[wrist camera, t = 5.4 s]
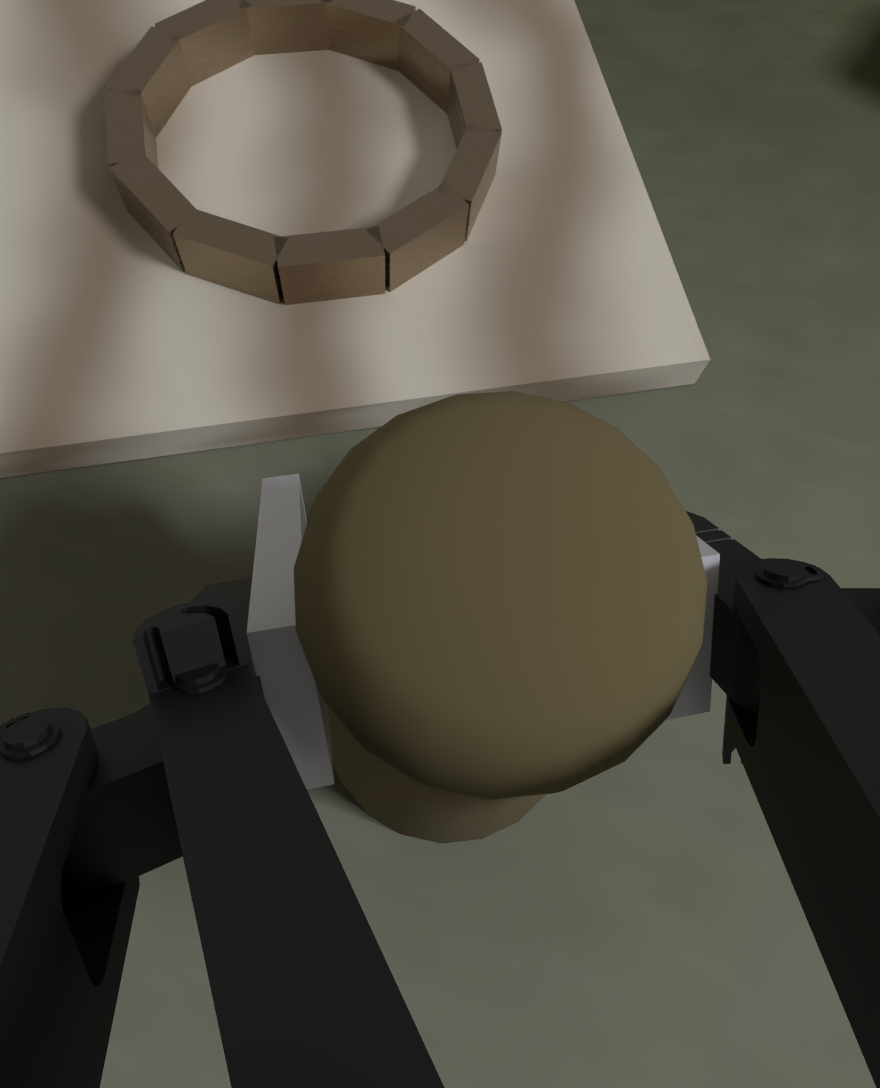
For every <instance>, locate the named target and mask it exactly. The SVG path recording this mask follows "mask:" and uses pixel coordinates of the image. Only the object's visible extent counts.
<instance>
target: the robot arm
mask: <svg viewBox="0 0 880 1088" xmlns="http://www.w3.org/2000/svg"><path fill="white" fill-rule="evenodd" d="M686 513H687V514H688V516H689V518H690V519H691V521H692V523H693V525H694V529H695V533H696V537H697V541H698V545H699V550H700V554H701V558H702V562H703V566H704V570H705V574H706V578H707V594H706V606H705V618H704V630H703V642H702V645H701V647H700V650H699V652H698V654H697V657H696V659H695V661H694V663H693V665H692V668H691V670H690V672H689V674H688V676H687V679H686V681H685V683H684V685H683V688H682V690H681V692H680V694H679V696H678V699H677V701H676V703H675V705H674V707H673V710H672V712H671V714H670V716H669V717H668V718H667V719H666V720H668V719H673V718H678V717H683V716H688V715H694V714H699V713H704V712H709V711H710V701H711V686H712V679H713V680H714V681H715V682H716V683H717V684H718V685H719V686H720V688H721V689H722V690H723V691H724V692H725V693H726V694H727V698H726V711H725V724H724V738H723V751H722V756H723V764H731V752H732V751H733V750H734V749H735V748H736V749H737V751H738V754H739V756H740V758H741V763H743V766H744V768H745V771H746V773H747V775H748V778H749V780H750V783H751V785H752V788H753V790H754V792H755V795H756V797H757V800H758V802H759V804H760V807H761V809H762V812H763V814H764V817H765V819H766V821H767V824H768V826H769V829H770V831H771V833H772V836H773V838H774V841H775V843H776V846H777V848H778V850H779V853H780V855H781V858H782V860H783V862H784V865H785V867H786V870H787V872H788V875H789V877H790V879H791V882H792V884H793V887H794V889H795V892H796V894H797V896H798V899H799V901H800V904H801V906H802V908H803V911H804V913H805V916H806V918H807V921H808V923H809V925H810V928H811V930H812V933H813V935H814V937H815V940H816V942H817V945H818V947H819V950H820V952H821V954H822V957H823V959H824V962H825V964H826V967H827V969H828V971H829V974H830V976H831V979H832V981H833V983H834V986H835V988H836V991H837V993H838V996H839V998H840V1000H841V1003H842V1005H843V1008H844V1010H845V1012H846V1015H847V1017H848V1020H849V1022H850V1025H851V1027H852V1029H853V1032H854V1034H855V1037H856V1039H857V1042H858V1044H859V1046H860V1049H861V1051H862V1054H863V1056H864V1058H865V1061H866V1063H867V1066H868V1068H869V1071H870V1073H871V1075H872V1078H873V1080H874V1083H875V1085H876V1087H877V1088H880V588H840V587H839V586H838V584H837V583H836V582H835V581H834V580H833V579H832V577H831V576H830V575H829V574H827V573H826V572H825V571H823V570H822V569H821V568H819V567H816V566H814V565H811V564H808V563H805V562H801V561H795V560H790V559H775V558H768V559H761V558H759V557H758V556H756V555H755V554H754V553H752V552H751V551H749V550H748V549H747V548H745V547H744V546H743V545H741V544H740V543H738V542H737V541H736V540H731V537H730V536H729V535H727V534H726V533H725V532H723V531H722V530H721V531H719V528H718V527H716V526H715V525H714V524H712V523H711V522H709V521H708V520H707V519H705V518H704V517H701V516H699V515H696V514H693V513H690V512H687V511H686ZM306 526H307V517H306V512H305V506H304V500H303V494H302V489H301V483H300V477H299V474H292V475H285V476H278V477H270V478H263V479H262V488H261V498H260V508H259V518H258V527H257V537H256V547H255V556H254V566H253V576H252V579H246V580H240V581H234V582H227V583H221V584H215V585H208V586H206V587H205V588H204V589H203V590H202V591H201V592H200V593H199V594H198V595H197V596H195V597H194V598H193V599H192V600H191V602H190V603H188V604H183V605H178V606H176V607H173V608H170V609H167V610H164V611H162V612H159V613H158V614H156V615H154V616H153V617H151V618H149V619H147V620H146V621H145V622H144V623H143V624H142V625H141V626H140V627H139V628H138V629H137V630H136V631H135V635H134V639H133V642H134V645H135V649H136V652H137V656H138V659H139V662H140V666H141V669H142V673H143V676H144V679H145V683H146V686H147V689H148V693H149V697H150V702H151V703H150V704H149V705H147V706H145V707H144V708H142V709H140V710H138V711H137V712H135V713H133V714H130V715H128V716H126V717H123V718H121V719H118V720H116V721H113V722H110V723H107V724H105V725H102V726H99V727H96V728H93V729H91V730H90V727H89V724H88V721H87V718H86V717H84V716H83V715H82V714H81V713H80V712H79V711H77V710H72V709H68V708H53V709H43V710H40V711H36V712H33V713H26V714H23V715H20V716H18V717H16V719H14V718H13V719H11V720H9V721H7V722H6V723H4V724H2V725H1V726H0V1088H100V1083H101V1078H102V1072H103V1067H104V1062H105V1057H106V1052H107V1047H108V1042H109V1037H110V1032H111V1027H112V1022H113V1017H114V1012H115V1007H116V1002H117V997H118V992H119V987H120V982H121V976H122V971H123V966H124V961H125V956H126V951H127V946H128V941H129V936H130V931H131V926H132V921H133V916H134V911H135V906H136V901H137V896H138V891H139V886H140V884H139V876H140V875H142V874H144V873H146V872H149V871H151V870H153V869H155V868H158V867H160V866H162V865H164V864H166V863H169V862H171V861H173V860H175V859H178V858H180V857H182V856H183V859H184V863H185V868H186V873H187V878H188V882H189V887H190V892H191V897H192V901H193V906H194V911H195V916H196V920H197V925H198V930H199V935H200V939H201V944H202V949H203V954H204V958H205V963H206V968H207V973H208V977H209V982H210V987H211V992H212V996H213V1001H214V1006H215V1011H216V1015H217V1020H218V1025H219V1030H220V1034H221V1039H222V1044H223V1049H224V1053H225V1058H226V1063H227V1068H228V1072H229V1077H230V1082H231V1087H232V1088H444V1086H443V1084H442V1082H441V1079H440V1077H439V1075H438V1073H437V1071H436V1069H435V1066H434V1064H433V1062H432V1060H431V1058H430V1056H429V1053H428V1051H427V1049H426V1047H425V1045H424V1043H423V1040H422V1038H421V1036H420V1034H419V1032H418V1030H417V1027H416V1025H415V1023H414V1021H413V1019H412V1017H411V1014H410V1012H409V1010H408V1008H407V1006H406V1004H405V1001H404V999H403V997H402V995H401V993H400V991H399V988H398V986H397V984H396V982H395V980H394V978H393V975H392V973H391V971H390V969H389V967H388V965H387V962H386V960H385V958H384V956H383V954H382V952H381V949H380V947H379V945H378V943H377V941H376V939H375V936H374V934H373V932H372V930H371V928H370V926H369V923H368V921H367V919H366V917H365V915H364V913H363V910H362V908H361V906H360V904H359V902H358V900H357V897H356V895H355V893H354V891H353V889H352V887H351V884H350V882H349V880H348V878H347V876H346V874H345V871H344V869H343V867H342V865H341V863H340V861H339V858H338V856H337V854H336V852H335V850H334V848H333V845H332V843H331V841H330V839H329V837H328V835H327V832H326V830H325V828H324V826H323V824H322V822H321V819H320V817H319V815H318V813H317V811H316V809H315V806H314V804H313V802H312V800H311V798H310V796H309V793H308V791H307V790H308V789H313V788H318V787H323V786H328V785H334V772H333V759H332V747H331V734H330V722H329V709H328V705H327V704H326V702H325V701H324V700H323V698H322V696H321V694H320V692H319V690H318V687H317V685H316V682H315V679H314V677H313V674H312V672H311V669H310V666H309V664H308V661H307V659H306V656H305V654H304V651H303V648H302V646H301V643H300V641H299V638H298V635H297V633H296V623H295V596H294V569H293V568H294V565H295V562H296V559H297V555H298V552H299V549H300V545H301V542H302V539H303V536H304V532H305V529H306Z"/></svg>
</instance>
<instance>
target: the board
mask: <svg viewBox="0 0 880 1088" xmlns="http://www.w3.org/2000/svg"><path fill="white" fill-rule="evenodd" d="M203 1H205V0H0V478H5V477H13V476H20V475H27V474H35V473H42V472H49V471H57V470H64V469H71V468H79V467H86V466H93V465H101V464H108V463H116V462H123V461H130V460H138V459H145V458H152V457H160V456H167V455H174V454H182V453H189V452H196V451H204V450H211V449H219V448H226V447H233V446H241V445H248V444H255V443H263V442H270V441H277V440H285V439H292V438H299V437H307V436H314V435H321V434H329V433H336V432H344V431H351V430H358V429H366V428H373V427H380V426H383V425H384V424H386V423H387V422H388V421H390V420H391V419H392V418H394V417H395V416H397V415H399V414H402V413H405V412H408V411H410V410H413V409H416V408H419V407H422V406H425V405H428V404H430V403H433V402H436V401H439V400H442V399H445V398H448V397H450V396H454V395H459V394H472V393H489V392H507V391H516V392H521V393H525V394H530V395H535V396H539V397H544V398H549V399H553V400H558V401H563V402H564V401H571V400H579V399H586V398H594V397H601V396H608V395H616V394H623V393H630V392H638V391H645V390H652V389H660V388H667V387H674V386H682V385H689V384H695V382H696V381H697V379H698V377H699V376H700V374H701V373H702V371H703V370H704V368H705V367H706V365H707V364H708V362H709V361H710V358H709V355H708V352H707V350H706V347H705V344H704V342H703V339H702V336H701V334H700V331H699V329H698V326H697V323H696V321H695V318H694V315H693V313H692V310H691V307H690V305H689V302H688V299H687V297H686V294H685V292H684V289H683V286H682V284H681V281H680V278H679V276H678V273H677V270H676V268H675V265H674V263H673V260H672V257H671V255H670V252H669V249H668V247H667V244H666V241H665V239H664V236H663V234H662V231H661V228H660V226H659V223H658V220H657V218H656V215H655V212H654V210H653V207H652V204H651V202H650V199H649V197H648V194H647V191H646V189H645V186H644V183H643V181H642V178H641V175H640V173H639V170H638V168H637V165H636V162H635V160H634V157H633V154H632V152H631V149H630V146H629V144H628V141H627V139H626V136H625V133H624V131H623V128H622V125H621V123H620V120H619V117H618V115H617V112H616V110H615V107H614V104H613V102H612V99H611V96H610V94H609V91H608V88H607V86H606V83H605V80H604V78H603V75H602V73H601V70H600V67H599V65H598V62H597V59H596V57H595V54H594V51H593V49H592V46H591V44H590V41H589V38H588V36H587V33H586V30H585V28H584V25H583V22H582V20H581V17H580V15H579V12H578V9H577V7H576V4H575V1H574V0H395V1H399V2H402V3H406V4H409V5H412V6H416V10H418V9H421V10H422V11H423V12H424V13H426V14H427V15H428V16H429V17H430V18H432V19H433V20H434V21H435V22H436V23H437V24H439V25H440V26H441V27H442V28H443V29H445V30H446V31H447V32H448V33H449V34H450V35H452V36H453V37H454V38H455V39H456V40H458V41H459V42H460V43H461V44H462V45H464V46H465V47H466V48H467V49H468V50H469V51H471V52H472V53H473V54H474V55H475V56H477V57H478V58H479V59H480V60H479V62H482V65H483V68H484V71H485V74H486V78H487V81H488V84H489V88H490V91H491V94H492V98H493V101H494V104H495V108H496V111H497V114H498V118H499V121H500V124H501V127H502V135H501V142H500V148H499V154H498V161H497V167H496V173H495V177H494V179H493V182H492V184H491V186H490V189H489V191H488V193H487V196H486V198H485V200H484V202H483V205H482V207H481V209H480V212H479V214H478V216H477V219H476V221H475V223H474V226H473V228H472V230H471V233H470V235H469V237H468V240H467V242H466V241H464V245H463V246H461V247H460V248H458V249H456V250H455V251H453V252H452V253H450V254H449V255H447V256H446V257H444V258H442V259H441V260H439V261H438V262H436V263H435V264H433V265H432V266H430V267H428V268H427V269H425V270H424V271H422V272H421V273H419V274H418V275H416V276H415V277H413V278H411V279H410V280H408V281H407V282H405V283H404V284H402V285H401V286H399V287H397V288H396V289H394V290H393V291H391V292H389V291H388V290H387V289H386V288H385V294H380V295H371V296H363V297H354V298H345V299H336V300H327V301H319V302H310V303H301V304H292V305H285V301H284V298H283V300H282V302H281V304H280V305H279V304H276V303H273V302H270V301H267V300H264V299H261V298H258V297H255V296H252V295H249V294H246V293H242V292H239V291H236V290H233V289H230V288H227V287H224V286H221V285H218V284H215V283H212V282H209V281H206V280H203V279H200V278H197V277H193V276H190V275H187V274H186V271H182V270H181V269H180V268H179V267H178V266H177V265H176V264H175V263H174V262H173V260H172V259H171V258H170V257H169V256H168V255H167V254H166V253H165V252H164V251H163V249H162V248H161V247H160V246H159V245H158V244H157V243H156V242H155V241H154V240H153V239H152V237H151V236H150V235H149V234H148V233H147V232H146V231H145V230H144V229H143V228H142V226H141V225H140V224H139V223H138V222H137V221H136V220H135V219H134V218H133V217H132V215H131V214H130V213H129V212H128V211H127V209H126V207H125V204H124V202H123V200H122V197H121V195H120V192H119V190H118V187H117V185H116V182H115V180H114V178H113V175H112V173H111V170H110V168H109V165H108V155H107V135H106V115H105V95H104V91H107V90H106V86H107V85H108V83H109V82H110V81H111V79H112V78H113V77H114V75H115V74H116V73H117V71H118V70H119V69H120V67H121V66H122V65H123V63H124V62H125V61H126V59H127V58H128V57H129V55H130V54H131V53H132V51H133V50H134V49H135V47H136V46H137V45H138V43H139V42H140V41H141V39H142V38H143V37H144V35H145V34H146V33H147V31H148V30H149V29H150V27H151V26H152V27H155V23H157V22H159V21H162V20H164V19H166V18H168V17H170V16H172V15H175V14H177V13H179V12H181V11H183V10H185V9H188V8H190V7H192V6H194V5H196V4H198V3H201V2H203ZM156 146H157V158H158V169H159V170H160V171H161V172H162V173H163V174H164V175H165V176H166V177H167V179H168V180H169V181H170V182H171V183H172V184H173V185H174V186H175V187H176V188H177V189H178V190H179V191H180V192H181V193H182V194H183V195H184V197H185V198H186V199H187V200H188V201H189V202H190V203H191V204H192V205H193V206H194V207H195V208H196V209H197V210H200V211H204V212H207V213H210V214H213V215H216V216H219V217H222V218H225V219H229V220H232V221H235V222H238V223H241V224H244V225H247V226H250V227H254V228H257V229H260V230H263V231H266V232H269V233H272V234H275V235H278V236H289V235H299V234H308V233H318V232H328V231H338V230H348V229H357V228H367V227H373V226H374V225H376V224H378V223H379V222H381V221H383V220H384V219H386V218H387V217H389V216H391V215H392V214H394V213H396V212H397V211H399V210H401V209H402V208H404V207H406V206H407V205H409V204H411V203H412V202H414V201H415V200H417V199H419V198H420V197H422V196H424V195H425V194H427V193H429V192H430V191H432V190H434V189H435V188H437V187H439V186H440V184H441V182H442V180H443V178H444V176H445V173H446V171H447V169H448V167H449V165H450V163H451V161H452V158H453V156H454V154H455V152H456V150H457V149H456V145H455V141H454V138H453V134H452V130H451V127H450V123H449V119H448V115H447V113H446V112H444V111H443V110H442V109H441V108H440V107H439V106H438V105H437V104H435V103H434V102H433V101H432V100H431V99H430V98H429V97H427V96H426V95H425V94H424V93H423V92H422V91H421V90H420V89H418V88H417V87H416V86H415V85H414V84H413V83H412V82H410V81H409V80H408V79H407V78H406V77H405V76H404V75H403V74H401V73H400V72H399V71H397V70H394V69H391V68H387V67H384V66H381V65H377V64H374V63H371V62H368V61H364V60H361V59H358V58H354V57H351V56H348V55H344V54H341V53H338V52H334V51H331V50H321V51H307V52H293V53H279V54H265V55H254V56H252V57H250V58H248V59H246V60H244V61H242V62H240V63H238V64H236V65H234V66H232V67H230V68H228V69H226V70H224V71H222V72H220V73H218V74H216V75H214V76H212V77H210V78H208V79H206V80H204V81H202V82H200V83H198V84H196V85H194V86H192V87H191V88H190V89H189V91H188V92H187V94H186V95H185V97H184V98H183V100H182V101H181V102H180V104H179V105H178V107H177V108H176V110H175V111H174V113H173V114H172V116H171V117H170V119H169V120H168V121H167V123H166V124H165V126H164V127H163V129H162V130H161V132H160V133H159V135H158V136H157V137H156Z"/></svg>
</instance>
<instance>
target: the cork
mask: <svg viewBox="0 0 880 1088" xmlns="http://www.w3.org/2000/svg"><path fill="white" fill-rule="evenodd" d="M293 569H294V596H295V623H296V633H297V635H298V638H299V641H300V643H301V646H302V648H303V651H304V654H305V656H306V659H307V661H308V664H309V666H310V669H311V672H312V674H313V677H314V679H315V682H316V685H317V687H318V690H319V692H320V694H321V696H322V698H323V700H324V701H325V702H326V704H327V705H328V709H329V722H330V734H331V747H332V759H333V765H334V768H335V771H336V773H337V776H338V778H339V780H340V782H341V783H342V784H343V785H344V787H345V788H346V789H347V790H348V791H349V793H350V794H351V795H352V796H353V798H354V799H355V800H356V801H357V802H358V804H359V805H360V806H361V807H362V809H363V810H364V811H365V812H366V813H368V814H369V815H371V816H373V817H374V818H376V819H377V820H379V821H381V822H382V823H384V824H385V825H387V826H389V827H390V828H392V829H393V830H395V831H397V832H398V833H400V834H403V835H407V836H412V837H416V838H420V839H425V840H429V841H433V842H438V843H448V842H457V841H466V840H475V839H482V838H485V837H487V836H489V835H491V834H493V833H495V832H497V831H499V830H501V829H503V828H505V827H507V826H509V825H511V824H514V823H516V822H518V821H519V820H520V819H521V818H522V817H523V816H524V815H525V814H526V813H527V812H528V811H529V810H530V809H531V808H532V807H533V806H534V805H535V804H536V803H537V802H538V801H539V800H540V799H541V798H542V797H543V796H544V795H545V794H551V793H556V792H560V791H564V790H566V789H568V788H570V787H572V786H574V785H576V784H578V783H581V782H583V781H585V780H587V779H589V778H591V777H593V776H595V775H597V774H599V773H601V772H603V771H606V770H608V769H610V768H612V767H614V766H616V765H618V764H620V763H622V762H624V761H625V760H626V759H627V758H628V757H629V756H630V755H631V754H632V753H633V752H634V751H635V750H636V749H637V748H638V747H639V746H640V745H641V744H642V743H643V742H644V741H645V740H646V739H647V738H648V737H649V736H650V735H651V734H652V733H653V732H654V731H655V730H656V729H657V728H658V727H659V726H660V725H661V724H662V723H663V722H664V721H665V720H666V719H667V718H668V717H669V716H670V714H671V712H672V710H673V707H674V705H675V703H676V701H677V699H678V696H679V694H680V692H681V690H682V688H683V685H684V683H685V681H686V679H687V676H688V674H689V672H690V670H691V668H692V665H693V663H694V661H695V659H696V657H697V654H698V652H699V650H700V647H701V645H702V642H703V630H704V618H705V606H706V594H707V578H706V574H705V570H704V566H703V562H702V558H701V554H700V550H699V545H698V541H697V537H696V533H695V529H694V525H693V523H692V521H691V519H690V518H689V516H688V514H687V513H686V511H685V509H684V508H683V506H682V504H681V503H680V501H679V499H678V498H677V496H676V494H675V493H674V491H673V489H672V488H671V486H670V484H669V483H668V481H667V479H666V478H665V476H664V474H663V473H662V471H661V470H660V468H659V467H658V466H657V465H656V464H655V463H654V462H653V461H652V460H651V459H650V458H649V457H648V456H647V455H646V454H644V453H643V452H642V451H641V450H640V449H639V448H638V447H637V446H636V445H635V444H634V443H633V442H632V441H630V440H629V439H628V438H627V437H626V436H625V435H624V434H623V433H622V432H621V431H620V430H619V429H617V428H616V427H614V426H612V425H610V424H608V423H606V422H604V421H602V420H600V419H599V418H597V417H595V416H593V415H591V414H589V413H587V412H585V411H583V410H581V409H579V408H577V407H575V406H573V405H571V404H570V403H567V402H563V401H558V400H553V399H549V398H544V397H539V396H535V395H530V394H525V393H521V392H516V391H507V392H489V393H472V394H459V395H454V396H450V397H448V398H445V399H442V400H439V401H436V402H433V403H430V404H428V405H425V406H422V407H419V408H416V409H413V410H410V411H408V412H405V413H402V414H399V415H397V416H395V417H394V418H392V419H391V420H390V421H388V422H387V423H386V424H384V425H383V426H382V427H380V428H379V429H377V430H376V431H375V432H373V433H372V434H371V435H369V436H368V437H367V438H365V439H364V440H362V441H361V442H360V443H358V444H357V445H356V446H354V447H353V448H352V449H350V451H349V452H348V453H347V455H346V456H345V458H344V459H343V460H342V462H341V463H340V465H339V466H338V467H337V469H336V470H335V472H334V473H333V474H332V476H331V477H330V478H329V480H328V481H327V483H326V484H325V485H324V487H323V488H322V490H321V491H320V492H319V494H318V495H317V497H316V499H315V502H314V504H313V507H312V510H311V513H310V516H309V519H308V522H307V526H306V529H305V532H304V536H303V539H302V542H301V545H300V549H299V552H298V555H297V559H296V562H295V565H294V568H293Z"/></svg>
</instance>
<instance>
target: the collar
mask: <svg viewBox="0 0 880 1088" xmlns="http://www.w3.org/2000/svg"><path fill="white" fill-rule="evenodd" d="M321 50H331V51H334V52H338V53H341V54H344V55H348V56H351V57H354V58H358V59H361V60H364V61H368V62H371V63H374V64H377V65H381V66H384V67H387V68H391V69H394V70H397V71H399V72H400V73H401V74H403V75H404V76H405V77H406V78H407V79H408V80H409V81H410V82H412V83H413V84H414V85H415V86H416V87H417V88H418V89H420V90H421V91H422V92H423V93H424V94H425V95H426V96H427V97H429V98H430V99H431V100H432V101H433V102H434V103H435V104H437V105H438V106H439V107H440V108H441V109H442V110H443V111H444V112H446V113H447V115H448V119H449V123H450V127H451V130H452V134H453V138H454V141H455V145H456V149H457V150H456V152H455V154H454V156H453V158H452V161H451V163H450V165H449V167H448V169H447V171H446V173H445V176H444V178H443V180H442V182H441V184H440V186H439V187H437V188H435V189H434V190H432V191H430V192H429V193H427V194H425V195H424V196H422V197H420V198H419V199H417V200H415V201H414V202H412V203H411V204H409V205H407V206H406V207H404V208H402V209H401V210H399V211H397V212H396V213H394V214H392V215H391V216H389V217H387V218H386V219H384V220H383V221H381V222H379V223H378V224H376V225H374V226H373V227H367V228H357V229H348V230H338V231H328V232H318V233H308V234H299V235H289V236H278V235H275V234H272V233H269V232H266V231H263V230H260V229H257V228H254V227H250V226H247V225H244V224H241V223H238V222H235V221H232V220H229V219H225V218H222V217H219V216H216V215H213V214H210V213H207V212H204V211H200V210H197V209H196V208H195V207H194V206H193V205H192V204H191V203H190V202H189V201H188V200H187V199H186V198H185V197H184V195H183V194H182V193H181V192H180V191H179V190H178V189H177V188H176V187H175V186H174V185H173V184H172V183H171V182H170V181H169V180H168V179H167V177H166V176H165V175H164V174H163V173H162V172H161V171H160V170H159V169H158V158H157V146H156V137H157V136H158V135H159V133H160V132H161V130H162V129H163V127H164V126H165V124H166V123H167V121H168V120H169V119H170V117H171V116H172V114H173V113H174V111H175V110H176V108H177V107H178V105H179V104H180V102H181V101H182V100H183V98H184V97H185V95H186V94H187V92H188V91H189V89H190V88H191V87H192V86H194V85H196V84H198V83H200V82H202V81H204V80H206V79H208V78H210V77H212V76H214V75H216V74H218V73H220V72H222V71H224V70H226V69H228V68H230V67H232V66H234V65H236V64H238V63H240V62H242V61H244V60H246V59H248V58H250V57H252V56H254V55H265V54H279V53H293V52H307V51H321ZM479 60H480V59H479V58H478V57H477V56H475V55H474V54H473V53H472V52H471V51H469V50H468V49H467V48H466V47H465V46H464V45H462V44H461V43H460V42H459V41H458V40H456V39H455V38H454V37H453V36H452V35H450V34H449V33H448V32H447V31H446V30H445V29H443V28H442V27H441V26H440V25H439V24H437V23H436V22H435V21H434V20H433V19H432V18H430V17H429V16H428V15H427V14H426V13H424V12H423V11H422V10H421V9H418V10H416V6H412V5H409V4H406V3H402V2H399V1H395V0H205V1H203V2H201V3H198V4H196V5H194V6H192V7H190V8H188V9H185V10H183V11H181V12H179V13H177V14H175V15H172V16H170V17H168V18H166V19H164V20H162V21H159V22H157V23H155V27H152V26H151V27H150V29H149V30H148V31H147V33H146V34H145V35H144V37H143V38H142V39H141V41H140V42H139V43H138V45H137V46H136V47H135V49H134V50H133V51H132V53H131V54H130V55H129V57H128V58H127V59H126V61H125V62H124V63H123V65H122V66H121V67H120V69H119V70H118V71H117V73H116V74H115V75H114V77H113V78H112V79H111V81H110V82H109V83H108V85H107V86H106V90H107V91H104V95H105V115H106V135H107V155H108V165H109V168H110V170H111V173H112V175H113V178H114V180H115V182H116V185H117V187H118V190H119V192H120V195H121V197H122V200H123V202H124V204H125V207H126V209H127V211H128V212H129V213H130V214H131V215H132V217H133V218H134V219H135V220H136V221H137V222H138V223H139V224H140V225H141V226H142V228H143V229H144V230H145V231H146V232H147V233H148V234H149V235H150V236H151V237H152V239H153V240H154V241H155V242H156V243H157V244H158V245H159V246H160V247H161V248H162V249H163V251H164V252H165V253H166V254H167V255H168V256H169V257H170V258H171V259H172V260H173V262H174V263H175V264H176V265H177V266H178V267H179V268H180V269H181V270H182V271H186V274H187V275H190V276H193V277H197V278H200V279H203V280H206V281H209V282H212V283H215V284H218V285H221V286H224V287H227V288H230V289H233V290H236V291H239V292H242V293H246V294H249V295H252V296H255V297H258V298H261V299H264V300H267V301H270V302H273V303H276V304H279V305H280V304H281V302H282V300H283V298H284V301H285V305H292V304H301V303H310V302H319V301H327V300H336V299H345V298H354V297H363V296H371V295H380V294H385V288H386V289H387V290H388V291H389V292H391V291H393V290H394V289H396V288H397V287H399V286H401V285H402V284H404V283H405V282H407V281H408V280H410V279H411V278H413V277H415V276H416V275H418V274H419V273H421V272H422V271H424V270H425V269H427V268H428V267H430V266H432V265H433V264H435V263H436V262H438V261H439V260H441V259H442V258H444V257H446V256H447V255H449V254H450V253H452V252H453V251H455V250H456V249H458V248H460V247H461V246H463V245H464V241H466V242H467V240H468V237H469V235H470V233H471V230H472V228H473V226H474V223H475V221H476V219H477V216H478V214H479V212H480V209H481V207H482V205H483V202H484V200H485V198H486V196H487V193H488V191H489V189H490V186H491V184H492V182H493V179H494V177H495V173H496V167H497V161H498V154H499V148H500V142H501V135H502V127H501V124H500V121H499V118H498V114H497V111H496V108H495V104H494V101H493V98H492V94H491V91H490V88H489V84H488V81H487V78H486V74H485V71H484V68H483V65H482V62H479Z"/></svg>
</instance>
